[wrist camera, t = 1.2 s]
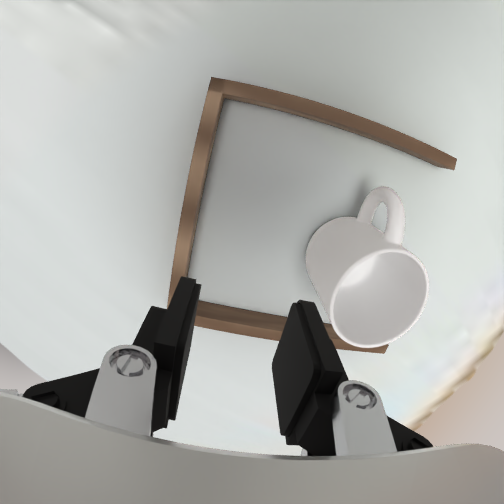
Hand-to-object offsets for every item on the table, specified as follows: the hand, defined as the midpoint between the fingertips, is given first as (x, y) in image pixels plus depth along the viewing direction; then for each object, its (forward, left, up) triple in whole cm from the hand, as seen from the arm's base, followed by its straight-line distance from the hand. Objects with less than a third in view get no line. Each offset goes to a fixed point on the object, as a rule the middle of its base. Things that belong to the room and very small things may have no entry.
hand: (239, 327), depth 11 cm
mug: (0, +11, -19) cm, 22 cm away
